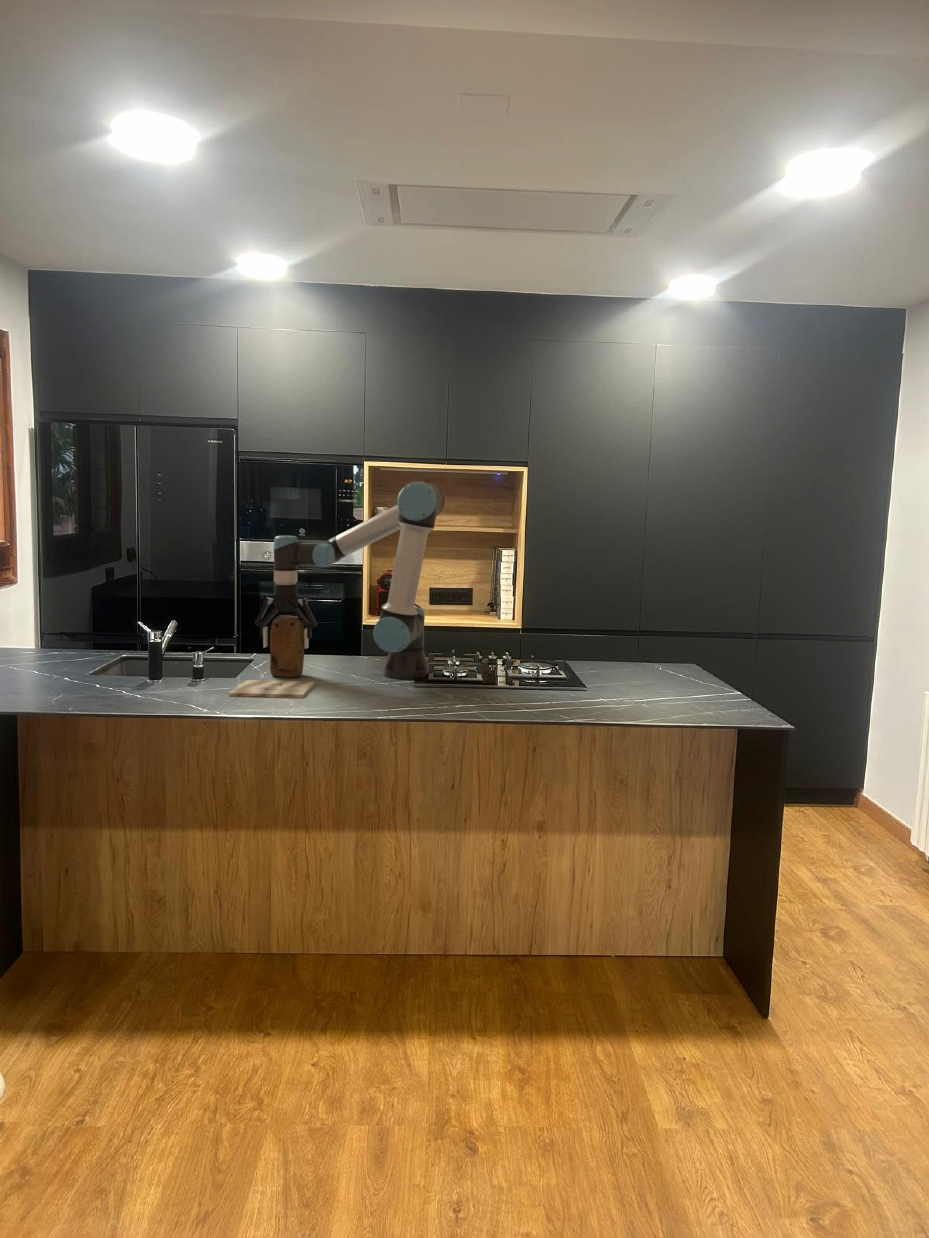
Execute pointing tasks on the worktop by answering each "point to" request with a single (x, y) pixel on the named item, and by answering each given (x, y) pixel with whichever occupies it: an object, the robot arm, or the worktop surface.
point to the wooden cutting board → (273, 688)
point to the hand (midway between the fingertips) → (286, 647)
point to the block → (286, 646)
